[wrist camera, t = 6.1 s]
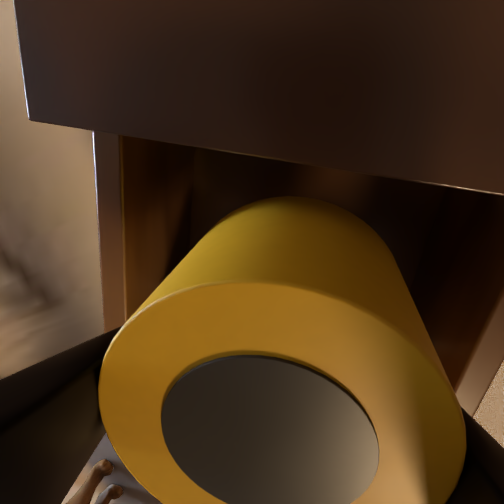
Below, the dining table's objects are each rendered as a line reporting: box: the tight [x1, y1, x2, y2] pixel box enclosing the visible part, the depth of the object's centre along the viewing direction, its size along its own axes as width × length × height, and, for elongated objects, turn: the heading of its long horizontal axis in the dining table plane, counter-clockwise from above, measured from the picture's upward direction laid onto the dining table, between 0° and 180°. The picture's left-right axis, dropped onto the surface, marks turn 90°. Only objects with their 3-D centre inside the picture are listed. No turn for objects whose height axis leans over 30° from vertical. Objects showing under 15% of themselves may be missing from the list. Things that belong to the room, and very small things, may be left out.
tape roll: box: [98, 196, 466, 504], centre depth 8 cm, size 6×6×5 cm
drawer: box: [92, 131, 504, 418], centre depth 13 cm, size 17×12×6 cm
